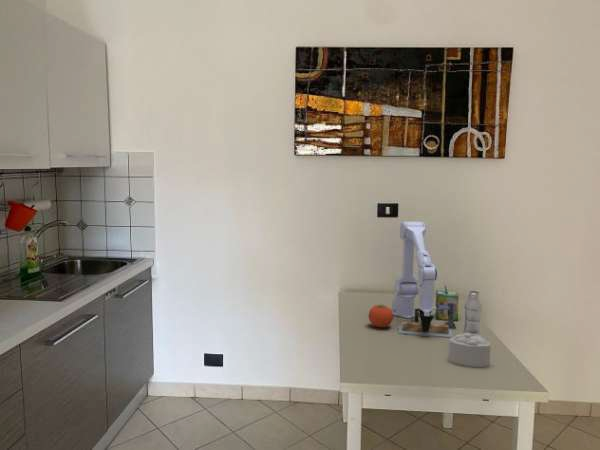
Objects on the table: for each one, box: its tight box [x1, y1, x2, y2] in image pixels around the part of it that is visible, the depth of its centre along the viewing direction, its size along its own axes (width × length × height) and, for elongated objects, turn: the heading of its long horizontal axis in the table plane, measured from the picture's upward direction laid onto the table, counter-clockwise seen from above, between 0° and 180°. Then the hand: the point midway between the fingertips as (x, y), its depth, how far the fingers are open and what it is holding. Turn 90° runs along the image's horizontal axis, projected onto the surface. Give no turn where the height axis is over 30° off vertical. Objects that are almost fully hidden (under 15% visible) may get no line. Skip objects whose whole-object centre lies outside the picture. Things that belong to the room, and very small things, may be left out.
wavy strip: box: [402, 321, 450, 334], centre depth 195 cm, size 18×3×3 cm, turn 78°
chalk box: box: [434, 284, 459, 322], centre depth 216 cm, size 9×9×15 cm
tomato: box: [368, 304, 394, 328], centre depth 201 cm, size 10×10×10 cm
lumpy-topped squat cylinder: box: [447, 332, 491, 368], centre depth 165 cm, size 10×13×9 cm
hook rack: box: [410, 308, 457, 330], centre depth 204 cm, size 18×6×6 cm, turn 78°
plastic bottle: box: [462, 290, 483, 336], centre depth 182 cm, size 6×7×20 cm
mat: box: [397, 325, 454, 339], centre depth 195 cm, size 21×9×1 cm, turn 78°
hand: (424, 328), depth 195 cm, fingers open, 7 cm apart
